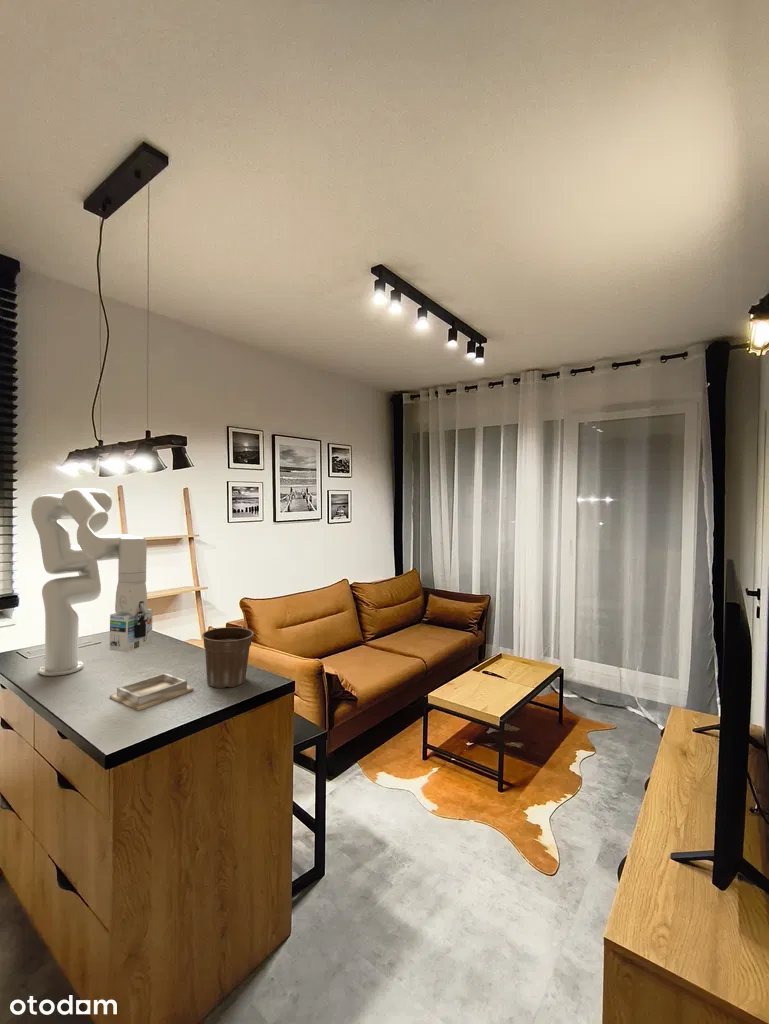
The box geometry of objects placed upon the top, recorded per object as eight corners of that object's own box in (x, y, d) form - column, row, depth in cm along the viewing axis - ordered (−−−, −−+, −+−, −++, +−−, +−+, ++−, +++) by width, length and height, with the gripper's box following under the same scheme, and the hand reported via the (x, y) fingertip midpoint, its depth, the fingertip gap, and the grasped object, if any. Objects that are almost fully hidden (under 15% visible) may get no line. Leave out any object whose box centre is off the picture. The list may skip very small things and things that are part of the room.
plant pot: (261, 676, 166) (263, 629, 166) (234, 694, 151) (235, 642, 150) (220, 670, 171) (221, 624, 170) (190, 687, 155) (191, 637, 155)
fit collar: (109, 697, 145) (109, 687, 145) (164, 679, 161) (164, 670, 161) (138, 710, 137) (139, 700, 137) (193, 690, 153) (193, 680, 153)
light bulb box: (127, 652, 142) (128, 616, 142) (108, 650, 143) (108, 614, 143) (153, 642, 152) (153, 608, 152) (134, 640, 154) (135, 606, 154)
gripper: (104, 576, 149) (104, 632, 149) (136, 582, 140) (135, 642, 140) (128, 573, 155) (128, 627, 156) (160, 579, 146) (160, 636, 146)
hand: (131, 634), depth 148 cm, fingers closed on light bulb box, 8 cm apart
